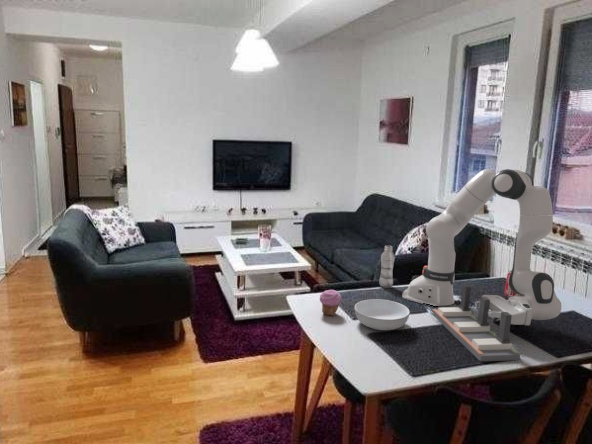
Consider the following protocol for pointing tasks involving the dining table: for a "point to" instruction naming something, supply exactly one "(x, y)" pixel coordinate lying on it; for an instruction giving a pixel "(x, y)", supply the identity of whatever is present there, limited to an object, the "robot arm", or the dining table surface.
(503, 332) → the post
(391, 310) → the serving bowl
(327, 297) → the cupcake
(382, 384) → the dining table surface
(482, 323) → the block
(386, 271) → the plastic bottle
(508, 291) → the soda can
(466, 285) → the block
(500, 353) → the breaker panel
